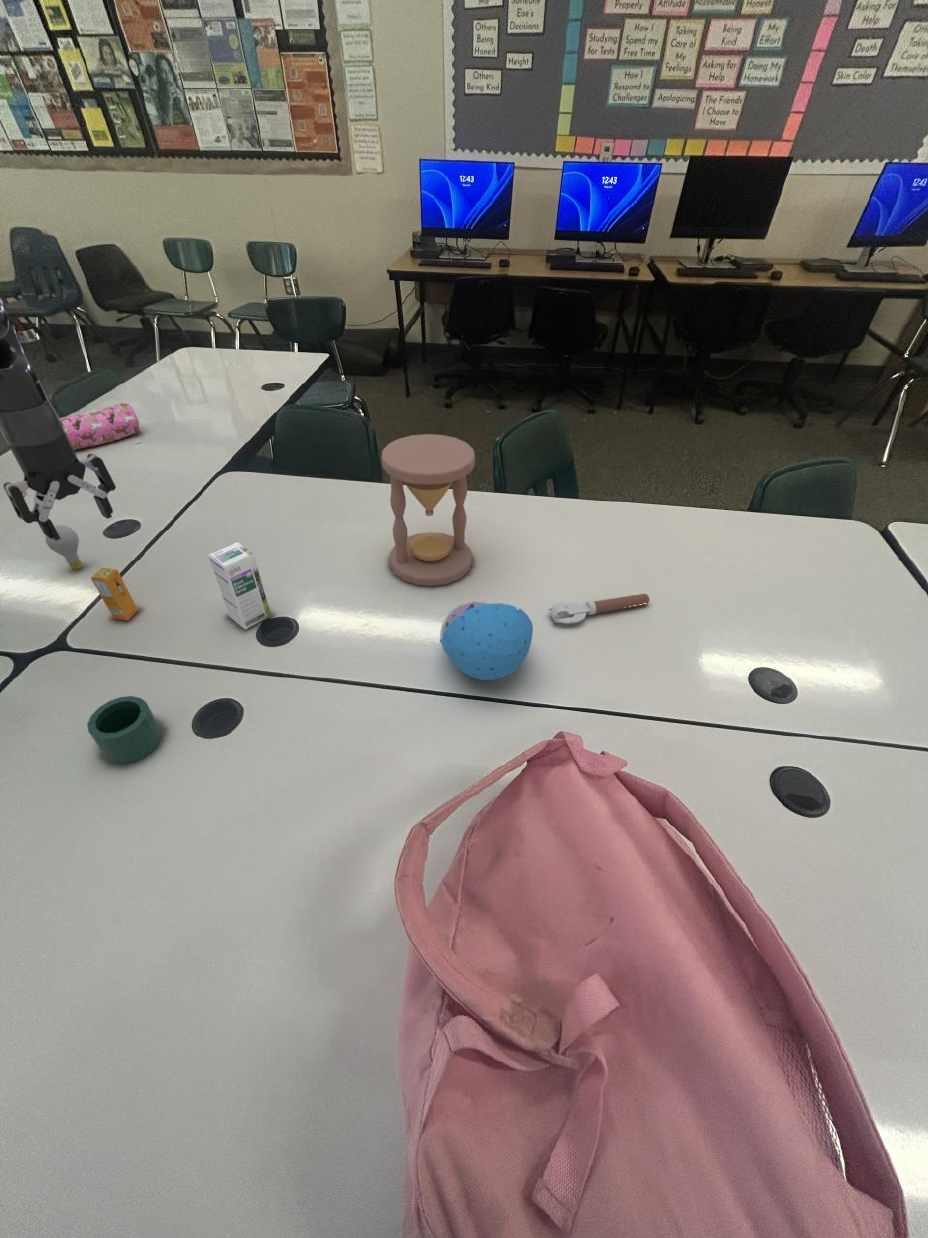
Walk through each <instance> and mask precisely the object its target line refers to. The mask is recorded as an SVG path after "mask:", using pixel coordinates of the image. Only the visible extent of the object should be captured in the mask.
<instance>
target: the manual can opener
mask: <svg viewBox="0 0 928 1238" xmlns="http://www.w3.org/2000/svg"><path fill="white" fill-rule="evenodd" d="M648 602H649V603H650V596H649V594H647V593H640V594H633V595H626V596H620V597H614V598H607V599H601V600H595V601H593V600H590V601H586V602H585V603H584V604H579V603H575V602H572V601H560V602H557V603H554V604H552V605H551V606H549V608H548V611H549V615H550V617H551V619H552V620H553V622H554V623H555V624H568V625H569V624H577V623H580V622H582V621H583V620H584V619H586V616H587V615H588V616H590V615H595V614H598V613H605V612H610V611H618V610H625V609H630V608H637V607H642V606H647V605H649V603H648ZM643 603H647V604H643ZM639 604H642V605H639ZM633 605H637V606H633ZM629 606H631V607H629ZM624 607H626V608H624ZM618 608H620V609H618ZM613 609H615V610H613ZM572 615H573V616H572Z"/></svg>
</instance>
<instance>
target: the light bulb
mask: <svg viewBox="0 0 928 1238" xmlns="http://www.w3.org/2000/svg"><path fill="white" fill-rule="evenodd" d="M54 527H55V529H56V531H57V532H58V534H59V536H60V538H61V539H59V540H57V541H55V540H54V539H53V538H52V539H50V538H49V537H47V536H46V535H45V543H46V545H47V547H48V548H49V549H50V550H51V551H53V552H55V553H57V555H58V554H59V555H60V556H61V557H63V558H64V559H65V560H66V562H67V564H68V565H69V567H70V568H71V569H72V570H79V569H81V568H82V567H83V563H82V561H81V558H80V556H79V555H78V547H79V545H80V544H79V543H80V538H79V536H78V533H77V532H76V531H75V530H74V529H73V528H72V527H70V526H66V525H61V524H60V525H54Z"/></svg>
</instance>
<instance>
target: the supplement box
mask: <svg viewBox="0 0 928 1238" xmlns="http://www.w3.org/2000/svg"><path fill="white" fill-rule="evenodd" d="M90 580H91V581H92V583H93V585H94V586H95V588H96V590H97V592H98V594H99V595H100V597H101V599H102V601H103V603H104V604H105V606H106V608H107V610H108V611H109V613H110V615H111V616H112V618H113V619H114V620H119V621H127V622H128V621H130V619H131V618H132V617H133V616H134V615H135V614H136V613H137V612H138V611H139V609H138V606H137V605H136V603H135V601H134V599H133V597H132V595H131V593H130V591H129V589H128V587H127V586H126V584H125V581H124V580H123V577H122V575H121V574H120V572H119V570H118V569H117V568H112V567H111V568H110V567H100V568H99V570H97V571H96V572H95V573H94V574H93V575H92V576H91V577H90Z"/></svg>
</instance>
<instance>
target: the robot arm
mask: <svg viewBox="0 0 928 1238" xmlns="http://www.w3.org/2000/svg"><path fill="white" fill-rule="evenodd" d="M23 348H24V347H23V346H22V343H21V340H20V338H19V335H18V333H17V330H16V328H15V326H14V323H13V321H12V318H11V316H10V314H9V310H8V309H7V307H6V305H5V302H4V300H3V298H2V297H1V296H0V432H1V434H2V436H3V438H4V440H5V441H6V443H7V445H8V447H9V449H10V452H11V453H12V455H13V456H14V458H15V460H16V462H17V463H18V466H19V467H20V469H21V471H22V474H23V480H21V481H17V482H14V483H11V482H8V481H7V482H4V484H3V490H4V491H5V493H6V495H7V498H8V499H9V502H10V504H11V505H12V507H13V509H14V511H15V514H16V516H17V517H18V518H19V519H20V520H22V521H23V522H25V523H26V524H32V523H34V522H35V523H37V524H38V526H39V527H40V530H41V531H42V533H43V535H45V536H47V537H49V538H50V539H52V538H53V539H54V540H55V541H57V540H59V539H61V538H60V536H59V534H58V532H57V531H56V529H55V527H54V526H55V525H54V523H53V521H52V520H51V519H50V518H49V516H50V511H51V510H52V509H53V508H54V504H55V500H57V501H62V500H64V499H65V498H67V497H68V496H72V495H73V496H74V495H77V494H79V491H80V490H81V489H83V490H85V491H86V492H88V493H91V494H92V495H93V496H92V497H93V500H94V502H95V504H96V506H97V508H98V510H99V512H100V515H101V516H102V517H104V518H105V519H107V520H108V519H111V518H112V517H113V516H112V514H113V513H114V509H113V507H112V505H111V503H110V500H109V499H108V494H109V493H110V492H113V491H115V490H116V488H117V487H116V484H115V482H114V480H113V478H112V476H111V475H110V472H109V470H108V469H107V467H106V465H105V462H104V461H103V459H102V458H101V457H99V456H97V455H95V454H93V453H89V454H87V456H86V458H84V459H81V460H80V459H79V458H78V456H77V454H76V450H74V449H73V447H72V445H71V443H70V441H69V439H68V436H67V434H66V432H65V430H64V428H63V424H62V422H61V420H60V419H59V418H60V416H59V415H58V413H57V411H56V409H55V408H54V406H53V405H52V403H51V402H50V400H49V398H48V396H47V394H46V392H45V389H44V387H43V385H42V383H41V381H40V379H39V377H38V375H37V373H36V371H35V369H34V367H33V366H32V365H31V363H30V361H29V359H28V358H27V356H26V353H25V351H24V349H23ZM86 468H87V469H88V470H90V471H92V472H94V475H95V476H96V478H97V479H98V482H99V483H100V484H98V485H97V486H95V485H93V484H92V483H90V482H88V481H86V480H85V479H84V478H85V474H86V470H87V469H86ZM28 489H31V490H32V491H35V492H34V496H33V507H32V510H30V507H29V505H28V503H27V502H26V499H25V497H26V496H27V495H28V493H27V490H28Z"/></svg>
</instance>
